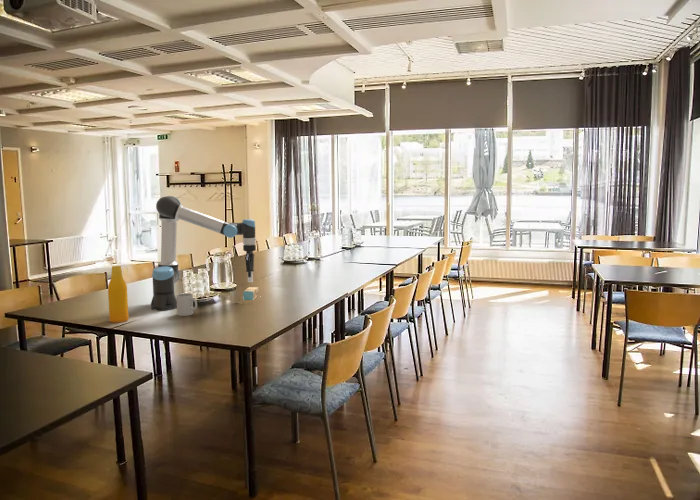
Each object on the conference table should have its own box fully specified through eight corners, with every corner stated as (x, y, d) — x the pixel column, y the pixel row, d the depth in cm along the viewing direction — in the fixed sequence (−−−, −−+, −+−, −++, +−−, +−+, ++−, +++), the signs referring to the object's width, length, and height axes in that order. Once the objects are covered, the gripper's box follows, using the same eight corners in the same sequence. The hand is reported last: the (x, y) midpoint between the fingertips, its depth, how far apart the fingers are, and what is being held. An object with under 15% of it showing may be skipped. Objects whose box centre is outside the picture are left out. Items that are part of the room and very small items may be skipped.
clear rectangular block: (252, 291, 317) (258, 287, 331) (243, 291, 318) (249, 287, 332) (252, 301, 318) (258, 296, 332) (243, 301, 318) (249, 296, 332)
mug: (173, 315, 285) (173, 295, 284) (183, 311, 293) (182, 292, 292) (192, 317, 281) (191, 297, 280) (201, 313, 289) (201, 294, 288)
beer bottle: (127, 322, 271) (124, 267, 267) (108, 323, 268) (105, 268, 264) (129, 317, 279) (127, 264, 276) (111, 319, 277) (108, 265, 273)
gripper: (252, 245, 313) (253, 284, 316) (258, 243, 326) (258, 280, 329) (240, 245, 313) (241, 283, 316) (246, 243, 326) (247, 280, 329)
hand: (250, 282), depth 322 cm, fingers closed
